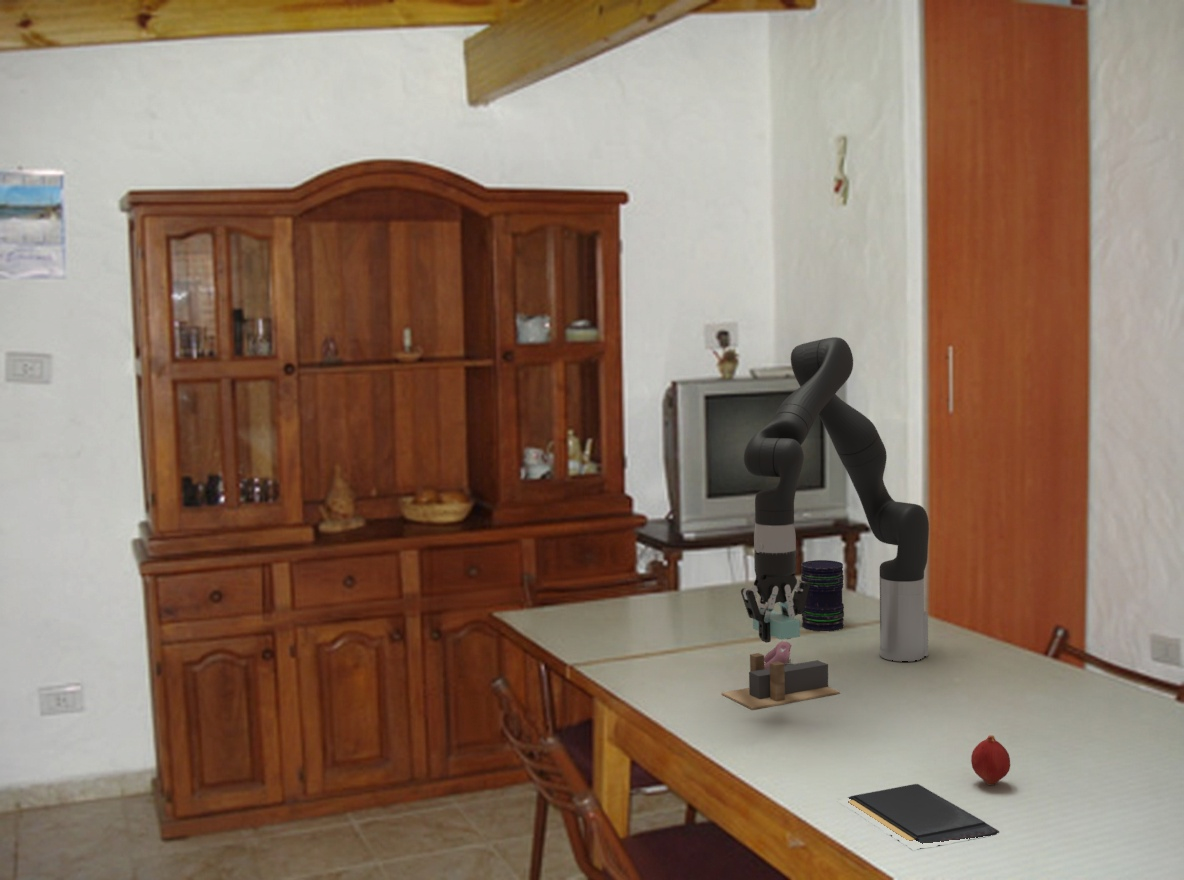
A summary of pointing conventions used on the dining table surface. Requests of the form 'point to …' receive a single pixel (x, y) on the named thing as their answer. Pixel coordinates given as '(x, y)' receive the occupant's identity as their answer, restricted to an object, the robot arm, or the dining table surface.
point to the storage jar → (823, 595)
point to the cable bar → (791, 679)
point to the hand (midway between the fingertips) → (776, 639)
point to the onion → (990, 760)
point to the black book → (920, 815)
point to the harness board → (768, 702)
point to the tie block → (781, 626)
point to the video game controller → (778, 654)
